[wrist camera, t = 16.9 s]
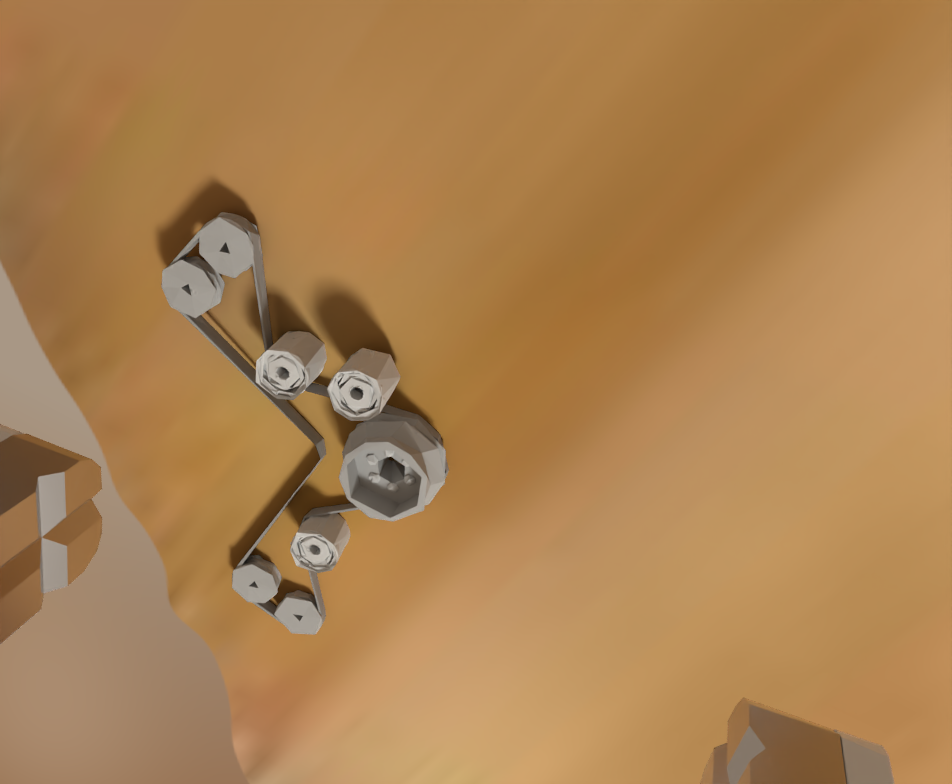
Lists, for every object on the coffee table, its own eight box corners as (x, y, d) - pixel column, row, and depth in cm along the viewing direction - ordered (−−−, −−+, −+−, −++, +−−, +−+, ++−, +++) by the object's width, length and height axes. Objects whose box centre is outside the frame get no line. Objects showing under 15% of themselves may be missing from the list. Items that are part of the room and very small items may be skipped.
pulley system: (435, 204, 42) (165, 207, 45) (409, 230, 38) (113, 231, 41) (471, 629, 54) (255, 607, 57) (454, 684, 50) (222, 656, 53)
